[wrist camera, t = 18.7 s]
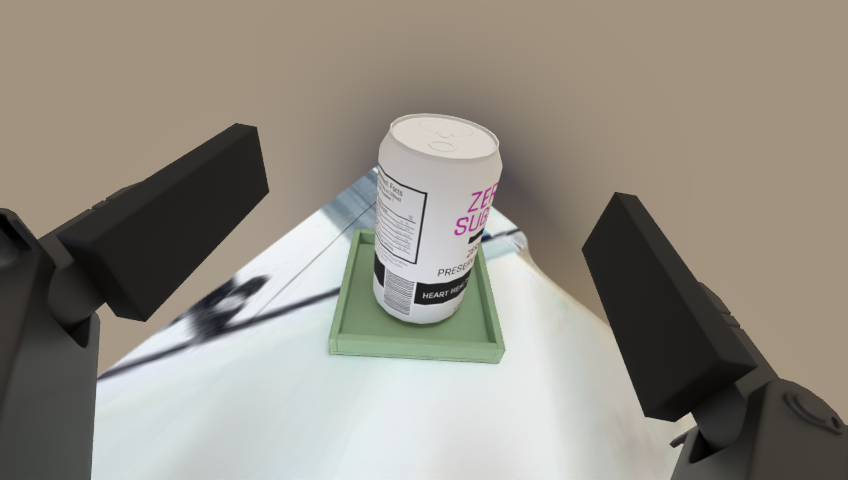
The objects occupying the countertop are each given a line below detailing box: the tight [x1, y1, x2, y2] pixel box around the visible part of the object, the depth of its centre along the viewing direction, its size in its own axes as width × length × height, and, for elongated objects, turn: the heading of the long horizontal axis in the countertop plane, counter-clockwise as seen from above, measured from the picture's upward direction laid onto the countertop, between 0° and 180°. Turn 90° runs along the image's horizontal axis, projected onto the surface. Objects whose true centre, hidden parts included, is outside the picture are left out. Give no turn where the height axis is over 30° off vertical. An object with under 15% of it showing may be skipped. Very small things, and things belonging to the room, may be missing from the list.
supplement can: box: [373, 114, 502, 324], centre depth 26 cm, size 8×8×15 cm
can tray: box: [329, 229, 505, 363], centre depth 30 cm, size 13×13×2 cm
